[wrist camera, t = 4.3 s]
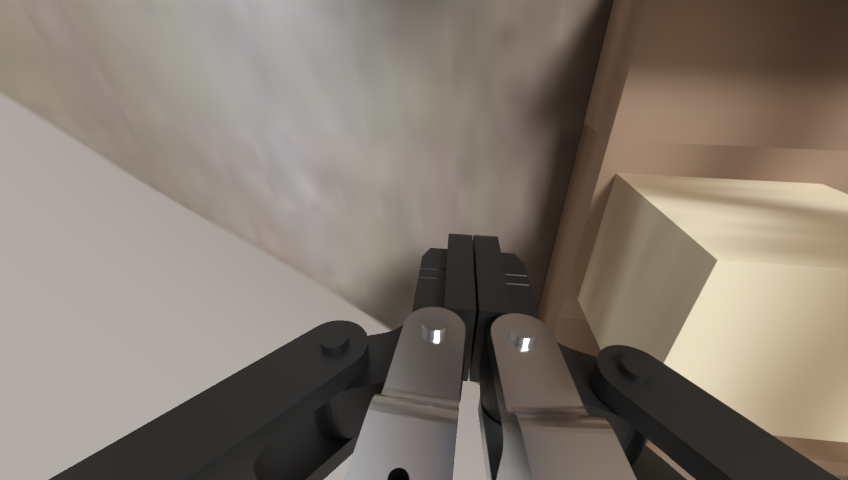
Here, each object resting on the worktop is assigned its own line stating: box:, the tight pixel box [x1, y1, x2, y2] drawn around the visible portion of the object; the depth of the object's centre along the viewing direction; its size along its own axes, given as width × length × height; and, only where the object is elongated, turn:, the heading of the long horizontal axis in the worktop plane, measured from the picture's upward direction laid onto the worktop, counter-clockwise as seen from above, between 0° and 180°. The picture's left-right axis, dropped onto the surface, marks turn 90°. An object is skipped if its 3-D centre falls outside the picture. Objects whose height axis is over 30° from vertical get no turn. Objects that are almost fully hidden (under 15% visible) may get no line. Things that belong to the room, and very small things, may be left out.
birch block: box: [578, 173, 848, 443], centre depth 10 cm, size 6×5×5 cm
